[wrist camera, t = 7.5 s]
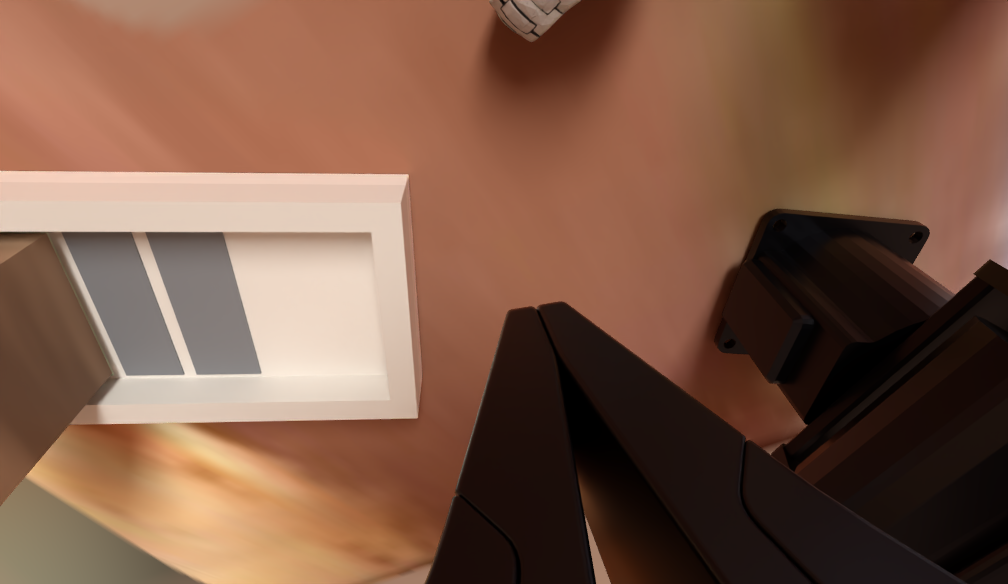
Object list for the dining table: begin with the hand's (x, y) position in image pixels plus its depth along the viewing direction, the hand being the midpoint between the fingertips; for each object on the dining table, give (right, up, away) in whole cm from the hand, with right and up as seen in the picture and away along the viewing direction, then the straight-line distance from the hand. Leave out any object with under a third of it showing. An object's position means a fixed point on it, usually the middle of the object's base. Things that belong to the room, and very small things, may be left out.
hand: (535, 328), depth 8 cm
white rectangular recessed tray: (-12, +1, +13) cm, 18 cm away
